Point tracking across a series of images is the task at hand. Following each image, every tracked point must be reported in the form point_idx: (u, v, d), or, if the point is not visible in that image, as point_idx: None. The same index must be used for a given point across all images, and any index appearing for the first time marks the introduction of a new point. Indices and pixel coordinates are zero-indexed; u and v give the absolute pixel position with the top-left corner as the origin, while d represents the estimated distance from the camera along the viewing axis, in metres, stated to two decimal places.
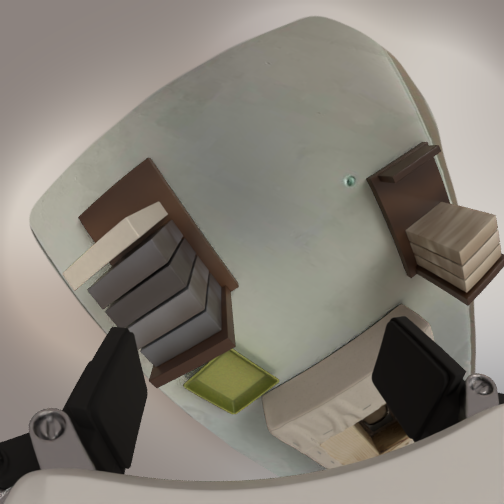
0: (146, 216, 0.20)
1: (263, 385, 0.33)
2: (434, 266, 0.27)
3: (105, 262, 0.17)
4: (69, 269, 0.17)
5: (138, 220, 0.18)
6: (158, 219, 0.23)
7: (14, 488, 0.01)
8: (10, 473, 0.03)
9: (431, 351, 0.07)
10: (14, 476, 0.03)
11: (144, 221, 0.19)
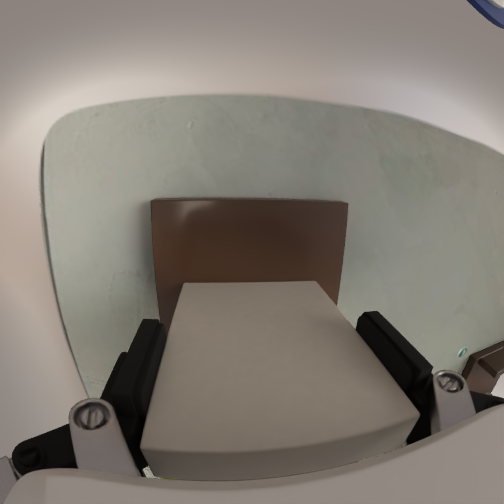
0: None
1: None
2: None
3: (300, 472, 0.05)
4: (178, 454, 0.05)
5: None
6: None
7: (14, 488, 0.01)
8: (48, 467, 0.03)
9: (398, 345, 0.07)
10: None
11: None
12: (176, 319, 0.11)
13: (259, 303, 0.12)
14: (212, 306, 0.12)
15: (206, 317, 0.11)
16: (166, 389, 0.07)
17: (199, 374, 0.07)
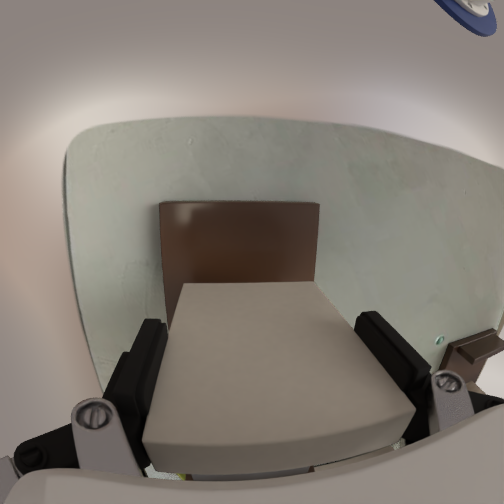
0: None
1: None
2: None
3: (299, 466, 0.06)
4: (179, 447, 0.05)
5: None
6: None
7: (14, 488, 0.01)
8: (50, 467, 0.03)
9: (396, 345, 0.07)
10: None
11: None
12: (177, 318, 0.11)
13: (258, 303, 0.12)
14: (211, 305, 0.12)
15: (206, 316, 0.11)
16: (167, 385, 0.07)
17: (199, 370, 0.08)
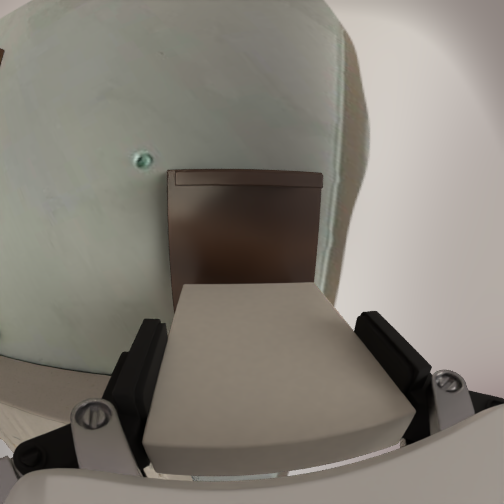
0: None
1: None
2: None
3: (299, 468, 0.06)
4: (179, 449, 0.05)
5: None
6: None
7: (14, 488, 0.01)
8: (50, 467, 0.03)
9: (397, 345, 0.07)
10: None
11: None
12: (177, 319, 0.11)
13: (258, 304, 0.12)
14: (211, 307, 0.12)
15: (206, 317, 0.11)
16: (167, 387, 0.07)
17: (199, 372, 0.08)
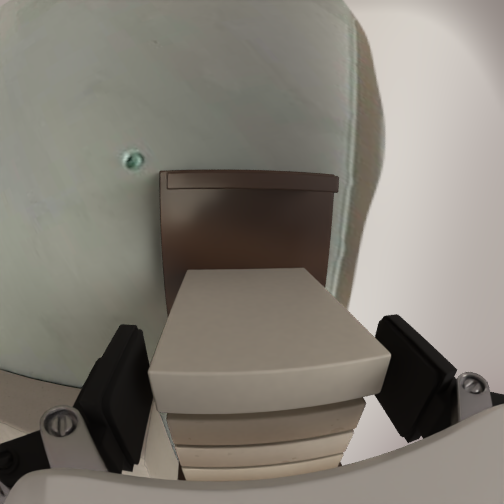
0: None
1: None
2: None
3: (286, 407, 0.07)
4: (179, 377, 0.07)
5: None
6: None
7: (14, 488, 0.01)
8: (20, 471, 0.03)
9: (422, 349, 0.07)
10: (23, 475, 0.03)
11: None
12: (181, 292, 0.12)
13: (253, 282, 0.14)
14: (212, 284, 0.14)
15: (207, 290, 0.13)
16: (172, 334, 0.09)
17: (200, 325, 0.09)
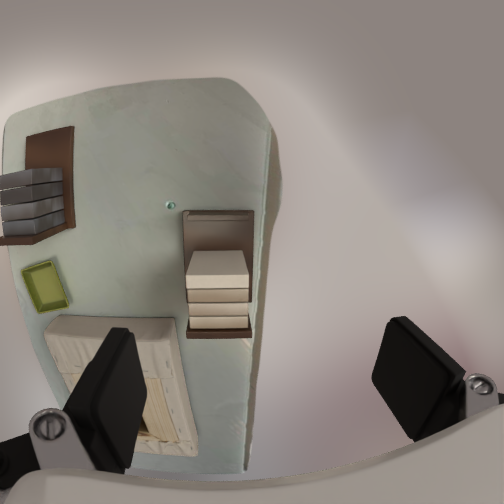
0: None
1: (60, 304, 0.40)
2: None
3: (220, 287, 0.31)
4: (193, 276, 0.31)
5: None
6: None
7: (14, 488, 0.01)
8: (10, 473, 0.03)
9: (431, 351, 0.07)
10: (14, 476, 0.03)
11: None
12: (192, 258, 0.36)
13: (218, 255, 0.38)
14: (203, 256, 0.37)
15: (201, 258, 0.37)
16: (190, 269, 0.32)
17: (198, 267, 0.33)
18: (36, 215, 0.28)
